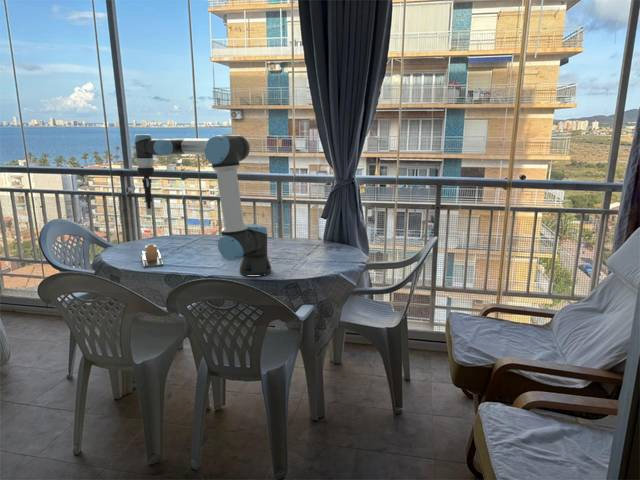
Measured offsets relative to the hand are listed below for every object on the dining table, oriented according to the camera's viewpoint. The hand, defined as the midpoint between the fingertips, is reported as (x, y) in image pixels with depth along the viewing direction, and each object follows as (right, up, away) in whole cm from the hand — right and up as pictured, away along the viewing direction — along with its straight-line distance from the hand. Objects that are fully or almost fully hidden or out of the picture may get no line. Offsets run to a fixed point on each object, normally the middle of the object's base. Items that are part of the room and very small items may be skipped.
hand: (149, 214), depth 219 cm
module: (-1, -22, +6) cm, 23 cm away
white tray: (-1, -23, +6) cm, 24 cm away
